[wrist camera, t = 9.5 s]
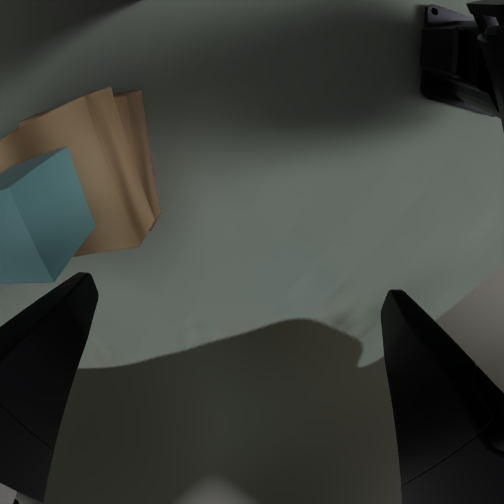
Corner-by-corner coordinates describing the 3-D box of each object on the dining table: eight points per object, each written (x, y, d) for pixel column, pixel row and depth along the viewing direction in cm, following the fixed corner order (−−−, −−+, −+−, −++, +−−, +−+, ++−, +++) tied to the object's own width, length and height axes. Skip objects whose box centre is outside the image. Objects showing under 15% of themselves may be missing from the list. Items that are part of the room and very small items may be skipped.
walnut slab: (145, 88, 18) (126, 95, 15) (163, 209, 23) (150, 230, 20) (42, 111, 18) (17, 123, 16) (67, 213, 24) (49, 232, 21)
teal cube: (68, 146, 14) (9, 187, 10) (95, 225, 17) (54, 282, 13) (11, 166, 15) (-43, 207, 11) (38, 234, 17) (-3, 283, 13)
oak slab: (110, 86, 15) (84, 95, 12) (154, 219, 20) (139, 246, 18) (12, 134, 16) (-16, 149, 14) (57, 238, 21) (37, 262, 19)
